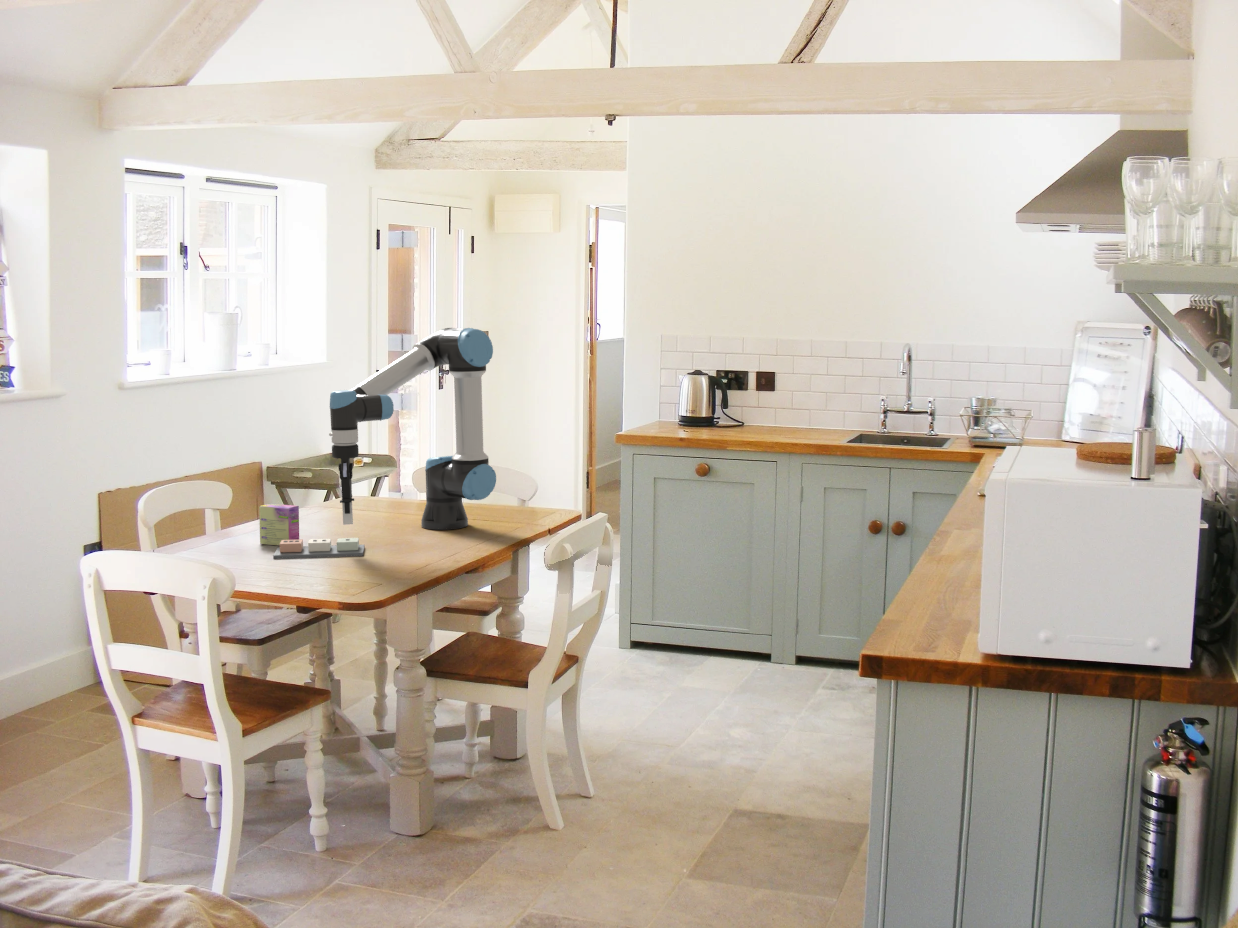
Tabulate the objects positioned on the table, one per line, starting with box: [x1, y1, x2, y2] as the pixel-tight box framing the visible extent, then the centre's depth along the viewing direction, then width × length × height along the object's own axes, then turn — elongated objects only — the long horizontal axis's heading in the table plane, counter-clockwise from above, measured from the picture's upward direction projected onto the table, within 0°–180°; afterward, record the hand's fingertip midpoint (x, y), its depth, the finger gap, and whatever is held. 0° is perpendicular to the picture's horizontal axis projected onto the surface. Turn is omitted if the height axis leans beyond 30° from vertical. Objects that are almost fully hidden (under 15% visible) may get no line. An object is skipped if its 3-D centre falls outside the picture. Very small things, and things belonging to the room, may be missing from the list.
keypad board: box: [272, 544, 365, 560], centre depth 349 cm, size 25×12×1 cm, turn 100°
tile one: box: [336, 537, 360, 551], centre depth 350 cm, size 6×6×3 cm
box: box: [258, 503, 300, 547], centre depth 362 cm, size 10×6×12 cm, turn 71°
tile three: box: [279, 538, 304, 552], centre depth 348 cm, size 6×6×3 cm
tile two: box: [307, 538, 332, 552], centre depth 349 cm, size 6×6×3 cm
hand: (348, 523), depth 350 cm, fingers closed
